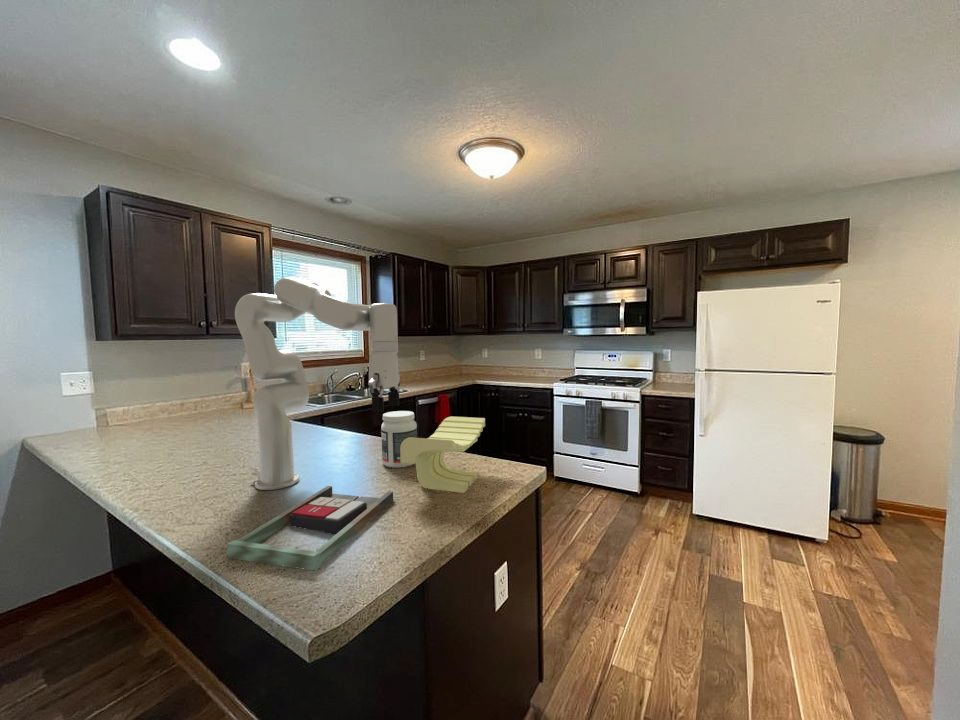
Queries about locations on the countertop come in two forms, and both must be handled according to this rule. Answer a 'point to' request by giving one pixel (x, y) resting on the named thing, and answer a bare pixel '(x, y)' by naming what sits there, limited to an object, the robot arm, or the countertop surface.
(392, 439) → the supplement tub
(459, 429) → the slatted curved stool
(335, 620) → the countertop surface
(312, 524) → the calculator
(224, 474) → the countertop surface
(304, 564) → the channel
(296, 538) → the countertop surface
